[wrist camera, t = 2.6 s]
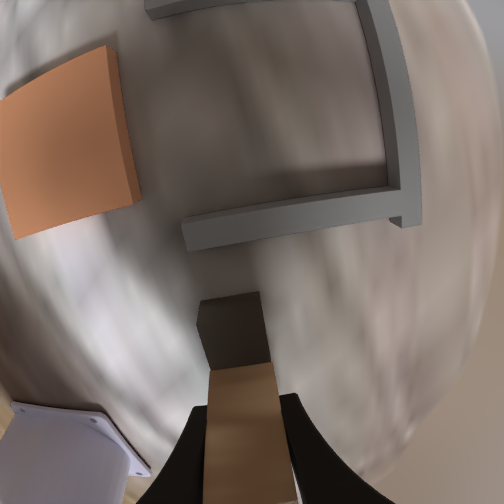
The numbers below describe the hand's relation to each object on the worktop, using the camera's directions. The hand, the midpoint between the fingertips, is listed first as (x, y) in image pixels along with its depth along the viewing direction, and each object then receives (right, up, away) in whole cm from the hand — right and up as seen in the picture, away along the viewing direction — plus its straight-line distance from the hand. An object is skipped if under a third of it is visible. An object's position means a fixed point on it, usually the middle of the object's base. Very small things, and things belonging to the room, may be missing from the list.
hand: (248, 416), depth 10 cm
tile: (-7, +11, 0) cm, 13 cm away
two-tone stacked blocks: (0, +1, +3) cm, 3 cm away
